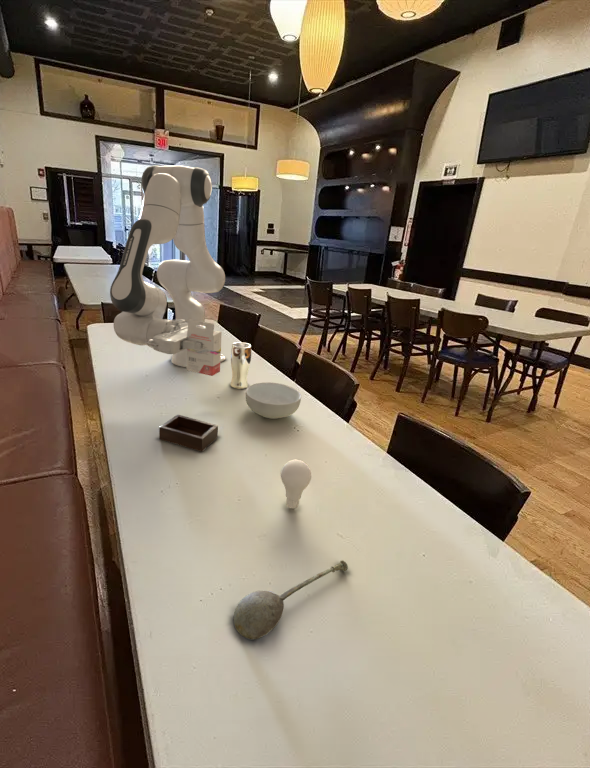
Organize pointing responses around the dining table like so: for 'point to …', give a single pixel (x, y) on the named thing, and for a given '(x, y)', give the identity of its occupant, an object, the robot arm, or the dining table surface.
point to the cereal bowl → (272, 399)
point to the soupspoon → (268, 607)
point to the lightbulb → (295, 481)
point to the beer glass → (240, 364)
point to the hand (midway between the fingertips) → (207, 343)
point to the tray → (188, 432)
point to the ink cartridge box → (204, 348)
